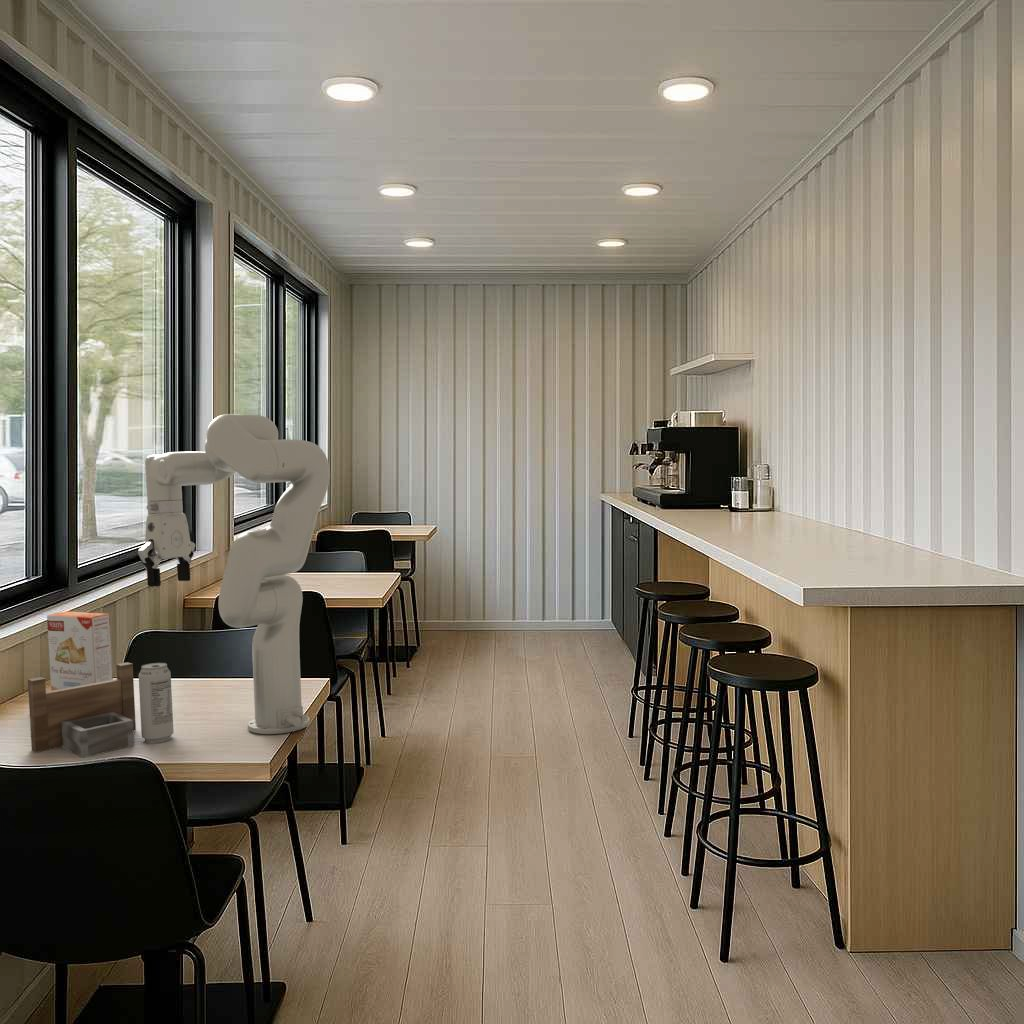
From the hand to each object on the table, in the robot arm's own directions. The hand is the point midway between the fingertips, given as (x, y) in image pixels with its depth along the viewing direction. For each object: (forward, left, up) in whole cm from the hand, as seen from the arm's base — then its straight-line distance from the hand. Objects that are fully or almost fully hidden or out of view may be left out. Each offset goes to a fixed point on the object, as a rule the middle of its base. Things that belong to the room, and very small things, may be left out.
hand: (169, 583), depth 217 cm
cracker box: (+21, +13, -28) cm, 37 cm away
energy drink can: (-24, +15, -28) cm, 40 cm away
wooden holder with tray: (-18, +25, -28) cm, 42 cm away
